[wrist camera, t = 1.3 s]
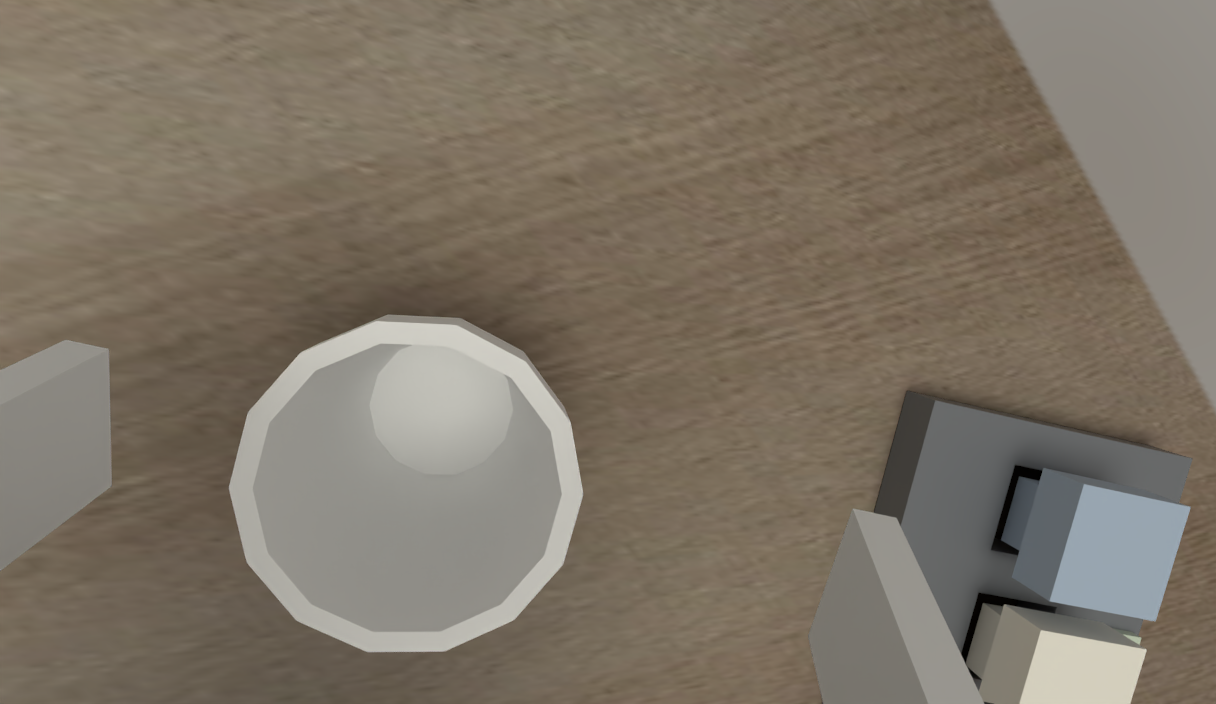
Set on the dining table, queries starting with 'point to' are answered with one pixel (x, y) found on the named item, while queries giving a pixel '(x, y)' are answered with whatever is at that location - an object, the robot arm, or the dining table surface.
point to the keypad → (996, 497)
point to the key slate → (1094, 542)
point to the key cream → (1051, 658)
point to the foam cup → (407, 484)
